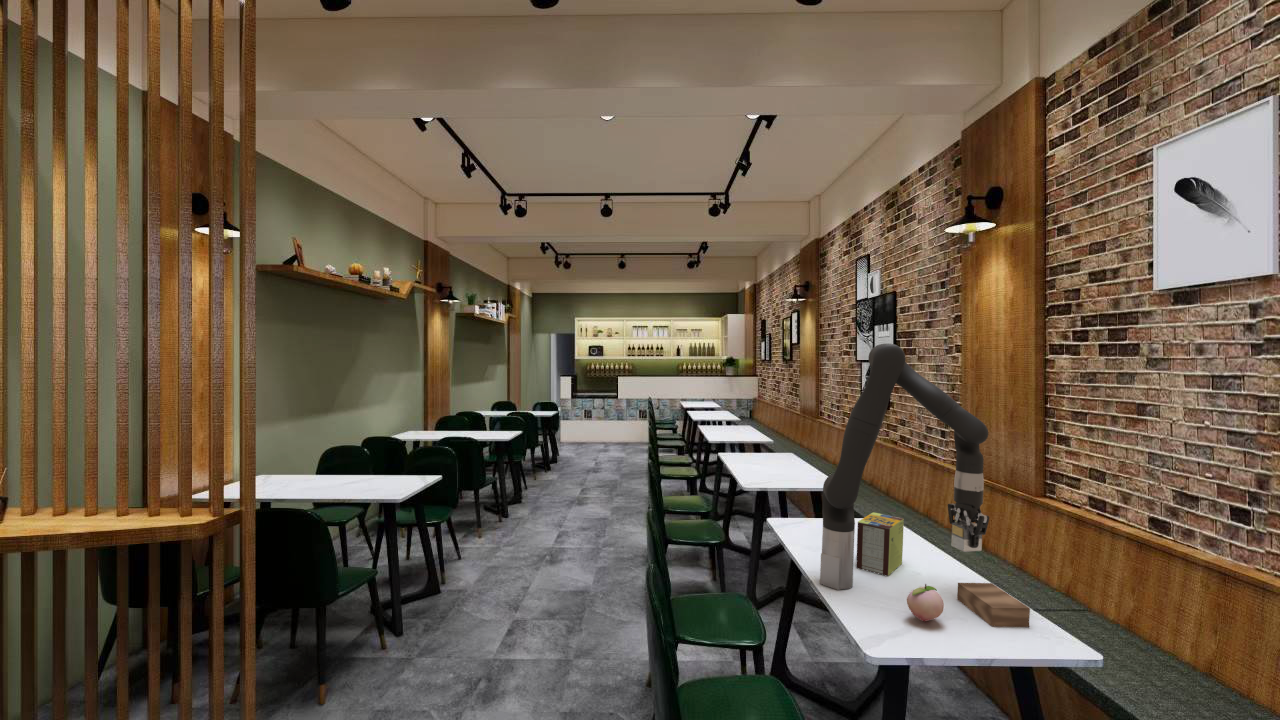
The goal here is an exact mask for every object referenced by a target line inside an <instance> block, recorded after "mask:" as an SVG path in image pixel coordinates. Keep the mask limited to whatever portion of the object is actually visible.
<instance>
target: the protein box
mask: <svg viewBox="0 0 1280 720" xmlns="http://www.w3.org/2000/svg"><path fill="white" fill-rule="evenodd" d="M904 523H905V522H904V518H903V517H899V516H894V515H887V514H883V513H879V512H871V513H870V514H868V515H866V516H864V517H863V518H861V519H860V520H859V521H857V535H856V536H857V537H856V539H857V540H856V563H855V564H856V565H855V567H856V569H858V568H859V570H862V569H864V570H863V571H866V570H868V571H867V572H870V571H871V573H874V572H875V573H874V574H878V573H879V574H878V575H882V574H883V575H882V576H885V575H886V576H885V577H889V576H890V575H891V574H893V572H895V570H897V569H898V568H899V567H900V566H901V565H902V564H903V550H904V549H903V548H904V525H905V524H904ZM897 567H898V568H897ZM896 568H897V569H896Z"/></svg>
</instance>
